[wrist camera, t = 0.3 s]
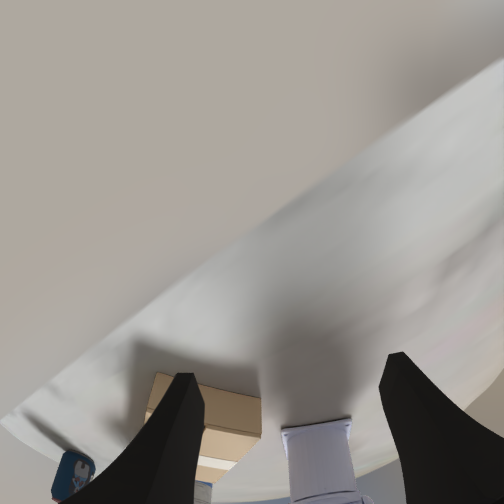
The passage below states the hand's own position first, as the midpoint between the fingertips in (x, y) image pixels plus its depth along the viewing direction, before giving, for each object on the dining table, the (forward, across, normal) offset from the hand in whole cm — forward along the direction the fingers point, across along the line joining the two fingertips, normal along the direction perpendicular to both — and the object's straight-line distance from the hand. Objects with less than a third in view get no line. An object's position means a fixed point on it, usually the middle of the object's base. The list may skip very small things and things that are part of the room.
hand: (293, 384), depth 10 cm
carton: (+10, +10, +20) cm, 25 cm away
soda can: (+10, +38, +40) cm, 56 cm away
